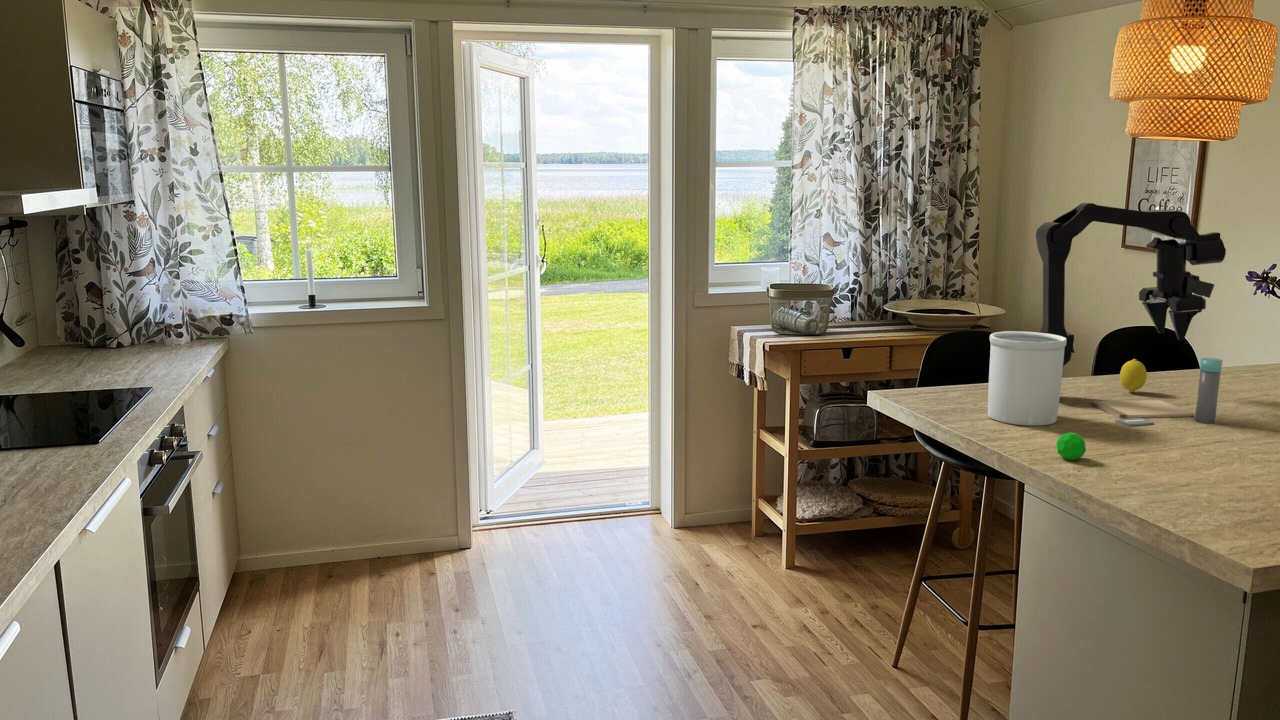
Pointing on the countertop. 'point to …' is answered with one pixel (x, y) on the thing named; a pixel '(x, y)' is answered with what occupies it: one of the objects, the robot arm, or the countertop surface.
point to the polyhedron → (1071, 446)
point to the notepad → (1141, 409)
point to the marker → (1208, 390)
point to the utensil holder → (1025, 377)
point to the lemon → (1133, 375)
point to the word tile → (1134, 421)
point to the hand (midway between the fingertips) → (1170, 336)
